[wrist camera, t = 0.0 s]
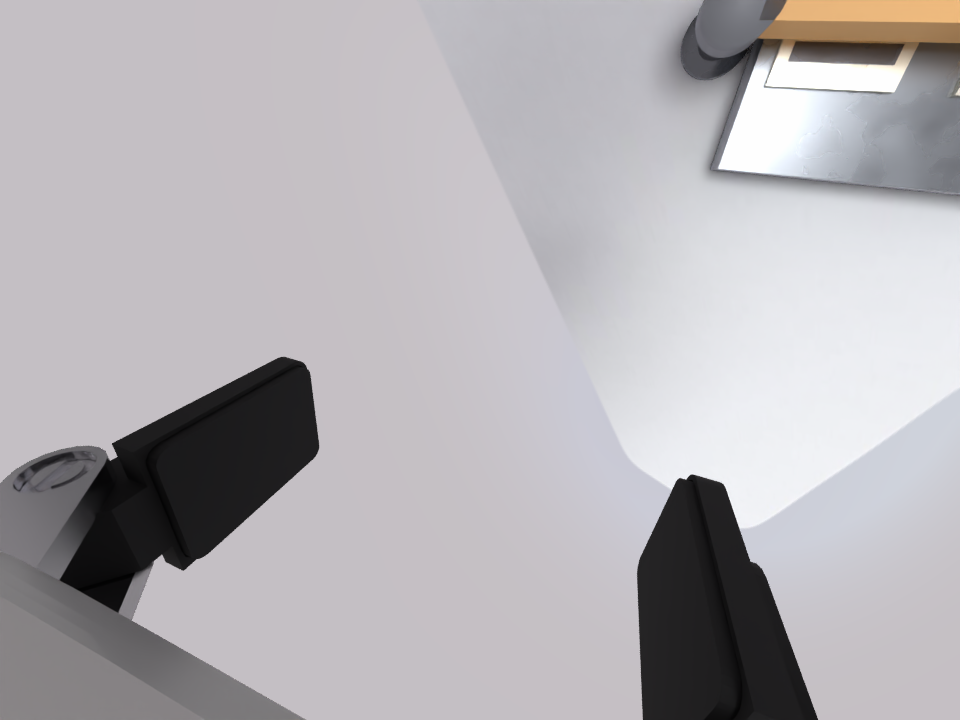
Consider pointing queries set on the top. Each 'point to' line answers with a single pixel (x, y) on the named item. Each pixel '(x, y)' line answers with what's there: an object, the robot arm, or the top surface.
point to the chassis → (848, 114)
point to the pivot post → (704, 58)
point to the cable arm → (823, 22)
